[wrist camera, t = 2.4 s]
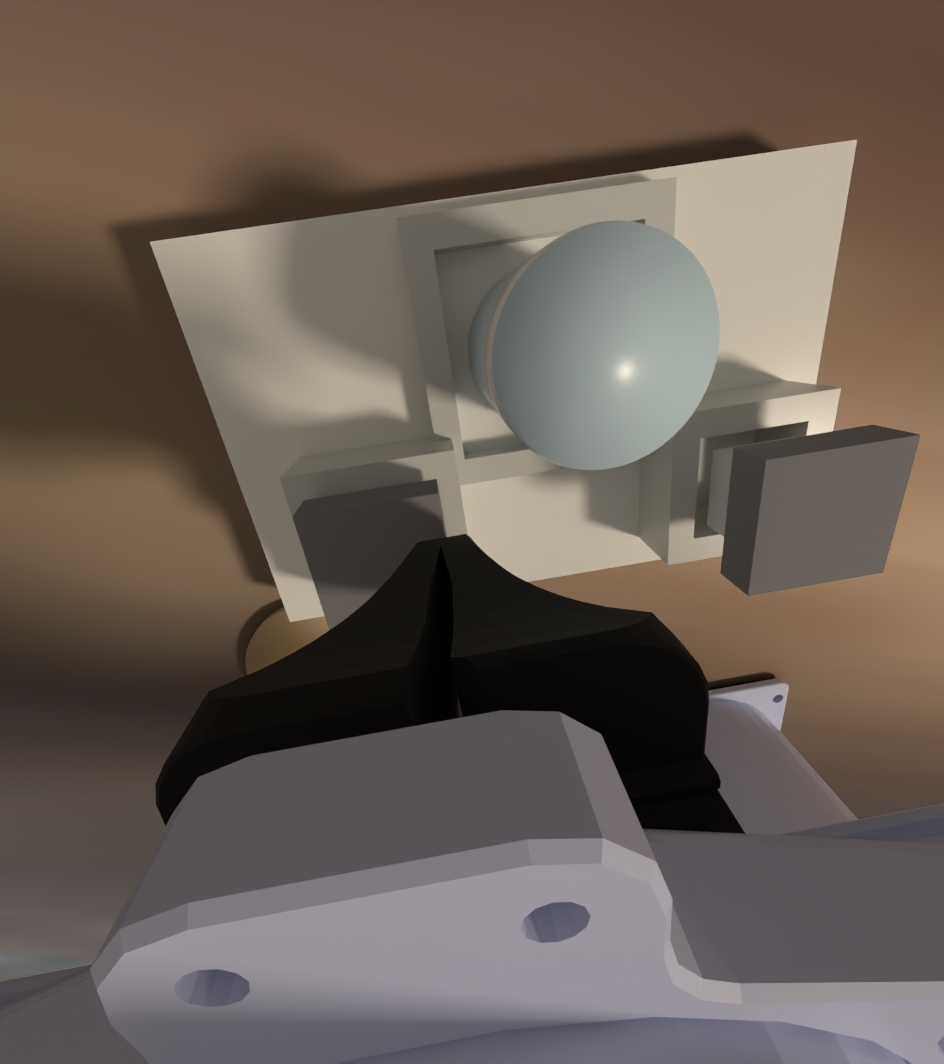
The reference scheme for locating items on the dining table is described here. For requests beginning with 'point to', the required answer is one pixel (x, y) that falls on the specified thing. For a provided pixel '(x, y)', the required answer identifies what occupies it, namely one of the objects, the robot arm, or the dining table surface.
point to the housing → (444, 369)
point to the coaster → (281, 638)
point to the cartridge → (598, 344)
